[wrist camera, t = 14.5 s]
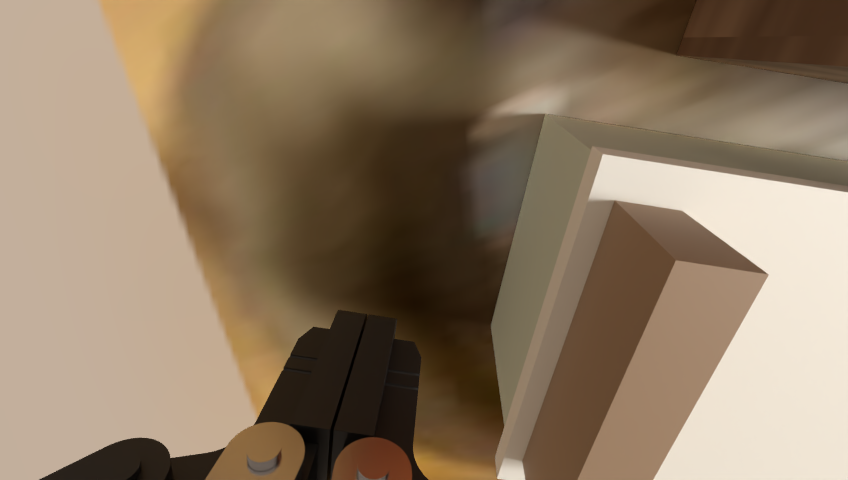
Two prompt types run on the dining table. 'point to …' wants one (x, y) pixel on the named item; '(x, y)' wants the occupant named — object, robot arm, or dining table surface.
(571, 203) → the box
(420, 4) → the dining table surface
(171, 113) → the dining table surface
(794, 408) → the lid
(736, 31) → the cover
